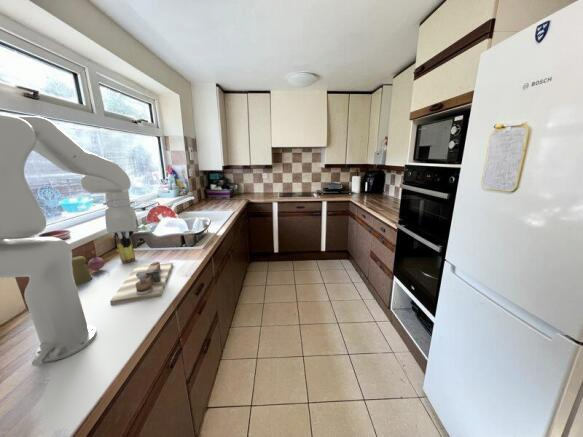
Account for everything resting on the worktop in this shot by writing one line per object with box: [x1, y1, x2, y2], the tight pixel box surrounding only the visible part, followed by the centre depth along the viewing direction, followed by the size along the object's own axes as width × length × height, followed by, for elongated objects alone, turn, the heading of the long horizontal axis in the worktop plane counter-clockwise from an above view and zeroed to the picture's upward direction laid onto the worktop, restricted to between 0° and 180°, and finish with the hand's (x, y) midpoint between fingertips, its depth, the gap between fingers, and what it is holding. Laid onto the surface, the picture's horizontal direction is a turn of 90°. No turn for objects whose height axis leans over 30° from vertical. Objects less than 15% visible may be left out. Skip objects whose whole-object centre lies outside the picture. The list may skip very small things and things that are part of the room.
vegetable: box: [87, 250, 105, 272], centre depth 109 cm, size 6×6×10 cm
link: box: [136, 261, 161, 292], centre depth 97 cm, size 22×5×6 cm, turn 16°
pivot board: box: [109, 262, 174, 306], centre depth 99 cm, size 28×16×6 cm, turn 18°
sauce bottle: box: [115, 232, 136, 264], centre depth 118 cm, size 7×6×20 cm
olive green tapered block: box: [72, 255, 93, 285], centre depth 100 cm, size 6×6×11 cm
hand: (127, 246), depth 99 cm, fingers closed
